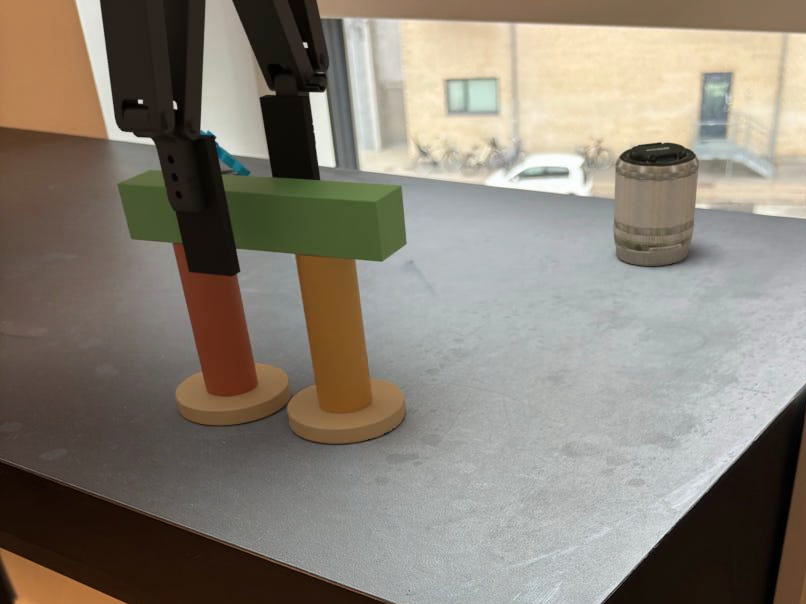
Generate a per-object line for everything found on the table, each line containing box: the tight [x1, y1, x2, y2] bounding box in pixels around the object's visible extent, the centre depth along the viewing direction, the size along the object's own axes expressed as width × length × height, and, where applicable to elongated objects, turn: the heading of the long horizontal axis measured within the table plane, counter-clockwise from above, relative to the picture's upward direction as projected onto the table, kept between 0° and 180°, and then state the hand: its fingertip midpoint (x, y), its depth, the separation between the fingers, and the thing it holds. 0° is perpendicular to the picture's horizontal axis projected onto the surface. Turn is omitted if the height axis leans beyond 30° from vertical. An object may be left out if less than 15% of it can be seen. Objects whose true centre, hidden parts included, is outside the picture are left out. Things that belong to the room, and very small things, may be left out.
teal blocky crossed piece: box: [200, 129, 251, 176], centre depth 104 cm, size 11×6×10 cm
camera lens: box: [613, 141, 700, 267], centre depth 79 cm, size 6×6×8 cm
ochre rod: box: [286, 254, 407, 445], centre depth 58 cm, size 7×7×10 cm
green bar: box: [116, 169, 408, 263], centre depth 55 cm, size 16×3×3 cm, turn 68°
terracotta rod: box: [171, 243, 292, 426], centre depth 60 cm, size 7×7×10 cm
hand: (261, 244), depth 56 cm, fingers open, 8 cm apart
